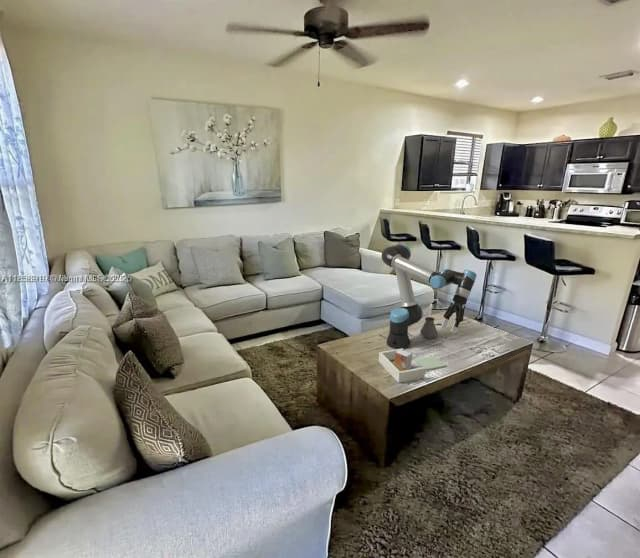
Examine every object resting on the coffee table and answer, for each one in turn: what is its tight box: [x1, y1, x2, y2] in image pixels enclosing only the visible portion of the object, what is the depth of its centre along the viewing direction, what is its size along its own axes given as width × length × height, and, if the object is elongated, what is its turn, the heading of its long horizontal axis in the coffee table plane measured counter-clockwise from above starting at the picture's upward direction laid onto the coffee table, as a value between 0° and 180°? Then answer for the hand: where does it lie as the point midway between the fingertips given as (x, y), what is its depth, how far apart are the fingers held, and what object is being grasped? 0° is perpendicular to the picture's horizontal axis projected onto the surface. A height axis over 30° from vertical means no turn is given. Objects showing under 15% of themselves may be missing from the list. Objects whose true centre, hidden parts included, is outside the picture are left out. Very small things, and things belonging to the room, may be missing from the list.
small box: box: [393, 349, 413, 371], centre depth 203 cm, size 8×6×10 cm
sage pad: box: [413, 355, 447, 372], centre depth 209 cm, size 12×14×1 cm
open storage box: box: [378, 348, 426, 384], centre depth 203 cm, size 24×16×6 cm, turn 17°
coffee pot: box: [419, 316, 442, 339], centre depth 239 cm, size 21×12×15 cm, turn 20°
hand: (447, 330), depth 204 cm, fingers open, 13 cm apart
